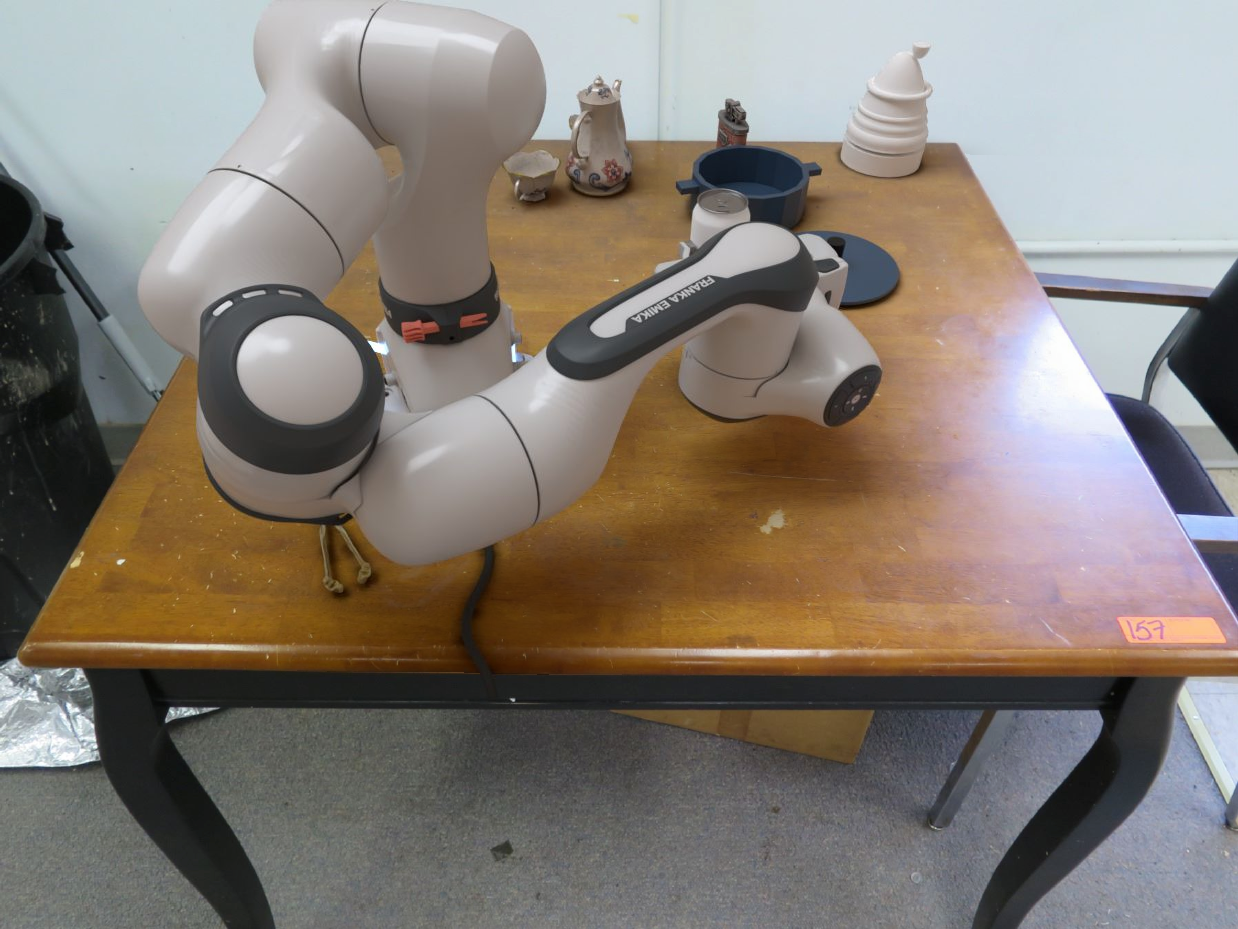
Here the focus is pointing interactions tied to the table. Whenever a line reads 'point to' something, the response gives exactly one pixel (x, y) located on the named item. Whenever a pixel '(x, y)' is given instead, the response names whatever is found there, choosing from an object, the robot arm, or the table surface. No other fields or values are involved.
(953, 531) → the table surface
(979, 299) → the table surface
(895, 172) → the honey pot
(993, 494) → the table surface
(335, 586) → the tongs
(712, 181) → the pot
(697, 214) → the can
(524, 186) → the chinaware
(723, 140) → the lighter
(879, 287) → the lid
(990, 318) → the table surface
